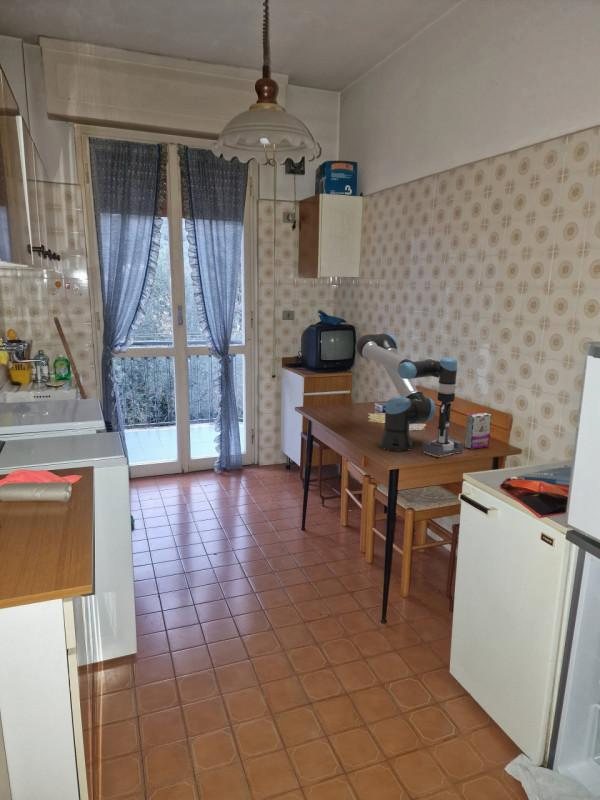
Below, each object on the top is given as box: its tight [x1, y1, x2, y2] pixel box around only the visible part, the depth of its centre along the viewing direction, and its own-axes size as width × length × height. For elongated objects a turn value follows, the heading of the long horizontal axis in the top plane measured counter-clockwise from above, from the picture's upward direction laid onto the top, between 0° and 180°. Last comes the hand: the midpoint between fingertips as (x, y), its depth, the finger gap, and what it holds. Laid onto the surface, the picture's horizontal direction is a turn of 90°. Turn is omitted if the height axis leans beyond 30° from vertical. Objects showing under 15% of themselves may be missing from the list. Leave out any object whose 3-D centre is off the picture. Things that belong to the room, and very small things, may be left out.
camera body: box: [421, 436, 464, 456], centre depth 252 cm, size 16×10×6 cm, turn 122°
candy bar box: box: [464, 412, 492, 450], centre depth 260 cm, size 11×5×16 cm, turn 114°
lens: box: [437, 421, 450, 444], centre depth 251 cm, size 5×5×12 cm
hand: (442, 440), depth 251 cm, fingers closed on lens, 4 cm apart
